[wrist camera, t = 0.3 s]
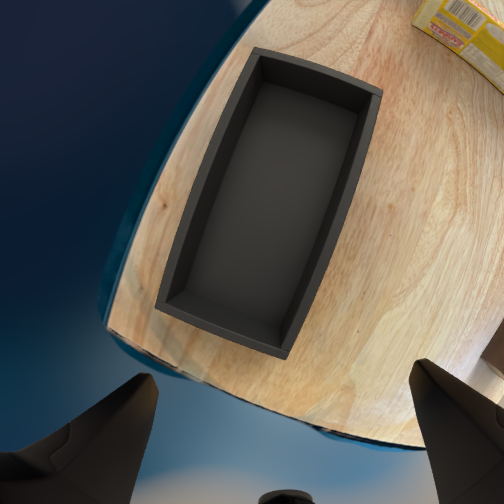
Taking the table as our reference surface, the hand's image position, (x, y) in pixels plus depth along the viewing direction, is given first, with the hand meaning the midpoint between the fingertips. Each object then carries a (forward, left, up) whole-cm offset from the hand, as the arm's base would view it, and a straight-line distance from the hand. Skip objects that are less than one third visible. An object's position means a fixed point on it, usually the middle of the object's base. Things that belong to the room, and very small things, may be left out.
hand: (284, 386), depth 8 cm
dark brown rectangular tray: (+5, +5, -13) cm, 15 cm away
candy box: (+33, -4, -13) cm, 36 cm away
